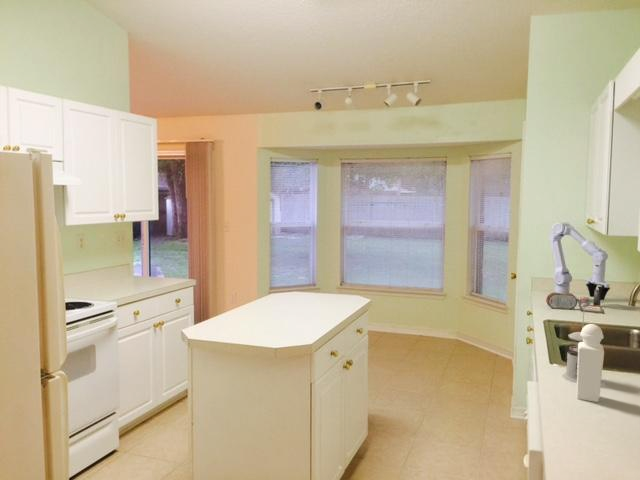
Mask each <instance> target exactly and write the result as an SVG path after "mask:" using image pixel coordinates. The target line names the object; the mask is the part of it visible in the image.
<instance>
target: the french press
mask: <svg viewBox="0 0 640 480" xmlns="http://www.w3.org/2000/svg"><path fill="white" fill-rule="evenodd" d="M581 306H582V307H587V306H588V305H587V304H586V303H582V304H581ZM584 320H585V312H584V311H583V314H582V323H584ZM583 327H584V325H582V327H581V328H582V329H583ZM582 329H581V330H582ZM580 333H581V331H575V332H572V333H570V334H568V335H567V336H568V338H569V339H570V340H572V341H575V342H576V341H577V342H583V339H582V337H581V335H580ZM566 354H567V356H566V359H567V360H566V363H567V364H566V369H565V370H566V371H565V373H564V374H562V377H563V379H565V380H567V381H569V382H570V383H571V382H572V383H576V384H577V367H578V345H572V346H571V345H570V346H569V350H568V351H567V353H566Z"/></svg>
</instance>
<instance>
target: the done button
mask: <svg viewBox="0 0 640 480" xmlns="http://www.w3.org/2000/svg"><path fill="white" fill-rule="evenodd" d="M579 299H581V301H587V302H588V300H590V298H589V297H586V296H585V297H584V296H580V297H579Z"/></svg>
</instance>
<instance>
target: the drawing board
mask: <svg viewBox="0 0 640 480" xmlns="http://www.w3.org/2000/svg"><path fill="white" fill-rule="evenodd" d="M579 308H580V312H581V313H582V312H583V311H584V313H593V314H602V315H603V314H604V311H603V309H602V307H601V306H600V307H593V305H592V306H591V305H590V306H587V307H582V306H581V305H580V307H579Z"/></svg>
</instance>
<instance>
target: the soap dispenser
mask: <svg viewBox="0 0 640 480" xmlns="http://www.w3.org/2000/svg"><path fill="white" fill-rule="evenodd" d="M580 332H581V333H580V335H581V337H582V339H583V342H580V341H578V344H577V346H578V354H577V356H578V367H577V383H576V398H577V399H578V400H583V401H588V402H594V403H599V402H600V394H601V393H600V392H601V387H602V386H601V384H602V377H603V368H604V367H603V366H604V359H605V358H604V357H605V351H604V346H603V344H601V341H602V340H603V339H604V334H603V331H602V328H601V326H599V325H597V324H595V323H588V324H586V325H583V329H581V331H580Z"/></svg>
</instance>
